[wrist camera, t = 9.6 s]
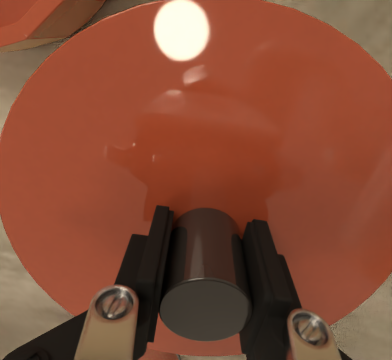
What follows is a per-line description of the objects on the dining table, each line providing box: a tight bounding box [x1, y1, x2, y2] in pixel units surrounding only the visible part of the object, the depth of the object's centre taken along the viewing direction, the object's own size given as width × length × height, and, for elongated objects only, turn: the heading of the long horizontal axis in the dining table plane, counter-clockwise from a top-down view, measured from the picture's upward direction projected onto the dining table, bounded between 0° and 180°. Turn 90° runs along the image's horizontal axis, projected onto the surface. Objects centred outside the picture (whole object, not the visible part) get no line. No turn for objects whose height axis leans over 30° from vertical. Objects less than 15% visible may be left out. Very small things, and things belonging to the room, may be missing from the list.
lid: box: [0, 0, 392, 356], centre depth 11 cm, size 18×18×5 cm
